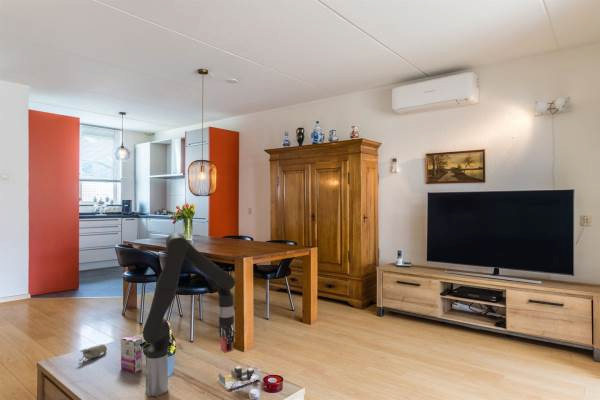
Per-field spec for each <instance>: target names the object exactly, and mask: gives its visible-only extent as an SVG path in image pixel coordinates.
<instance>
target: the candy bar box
mask: <svg viewBox="0 0 600 400" xmlns="http://www.w3.org/2000/svg"><path fill="white" fill-rule="evenodd" d="M142 339H143V338H140V337H135V336H131V335H126V336H124V337H121V338H120V369H121V370H125V371H127V372H131V373H137V372H140V371H142V370H143V346H142V347H141V346H140V344H142V345H143V340H142Z"/></svg>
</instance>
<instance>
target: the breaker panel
mask: <svg viewBox="0 0 600 400" xmlns="http://www.w3.org/2000/svg"><path fill="white" fill-rule="evenodd" d="M249 380H250V379H249V378H248V377H247V369H245V370H242V376H239V377H237V373H236V372H235V370H234V369H230V374H227V375H223V374H221V373H220V372H219V373H218V378H217V382H219V384H221V386H223V388H225V389H226V391H227V392H228V391H231V390H230V389H231V386H232V384H234V383H236V382H238V381H242V382H244V383H248V382H249Z"/></svg>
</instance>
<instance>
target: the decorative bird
mask: <svg viewBox="0 0 600 400" xmlns="http://www.w3.org/2000/svg"><path fill="white" fill-rule="evenodd" d="M107 350H108V349H107V346H106V344H103V343H102V344H99V345H95V346H91V347H89V348H85V349H81V350H80V352H81V353H82V358H81V359H80V358H78V360H79V361H82V363H84V362H85V361H86V360H90V359H91V358H92V359H95V358H97V357H99V356H100V355H101V354H102V353H104V354H106V353H107ZM84 358H85V359H84Z"/></svg>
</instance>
